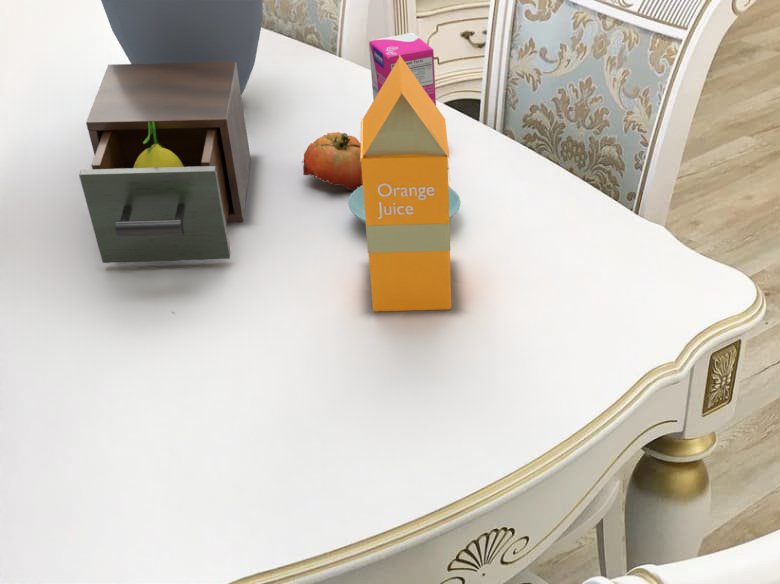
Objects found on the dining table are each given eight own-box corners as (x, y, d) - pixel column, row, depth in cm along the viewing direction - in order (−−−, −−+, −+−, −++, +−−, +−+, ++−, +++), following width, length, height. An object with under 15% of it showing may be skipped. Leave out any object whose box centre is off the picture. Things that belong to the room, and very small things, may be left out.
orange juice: (371, 311, 106) (353, 92, 91) (371, 266, 112) (354, 53, 97) (453, 309, 106) (448, 91, 92) (449, 264, 112) (444, 52, 98)
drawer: (226, 283, 107) (210, 194, 101) (95, 288, 106) (70, 198, 99) (238, 193, 120) (225, 110, 114) (121, 197, 119) (101, 113, 113)
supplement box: (374, 142, 132) (367, 38, 124) (419, 133, 134) (415, 31, 126) (393, 161, 129) (387, 55, 120) (439, 151, 131) (436, 47, 122)
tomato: (329, 189, 120) (307, 122, 119) (304, 214, 125) (282, 150, 125) (391, 182, 124) (370, 117, 123) (363, 206, 130) (343, 144, 129)
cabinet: (243, 221, 118) (226, 119, 110) (112, 225, 116) (86, 122, 109) (250, 159, 128) (236, 61, 121) (130, 162, 127) (108, 64, 119)
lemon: (158, 212, 106) (144, 103, 105) (119, 225, 109) (106, 120, 108) (212, 224, 111) (200, 120, 110) (173, 236, 115) (161, 136, 113)
